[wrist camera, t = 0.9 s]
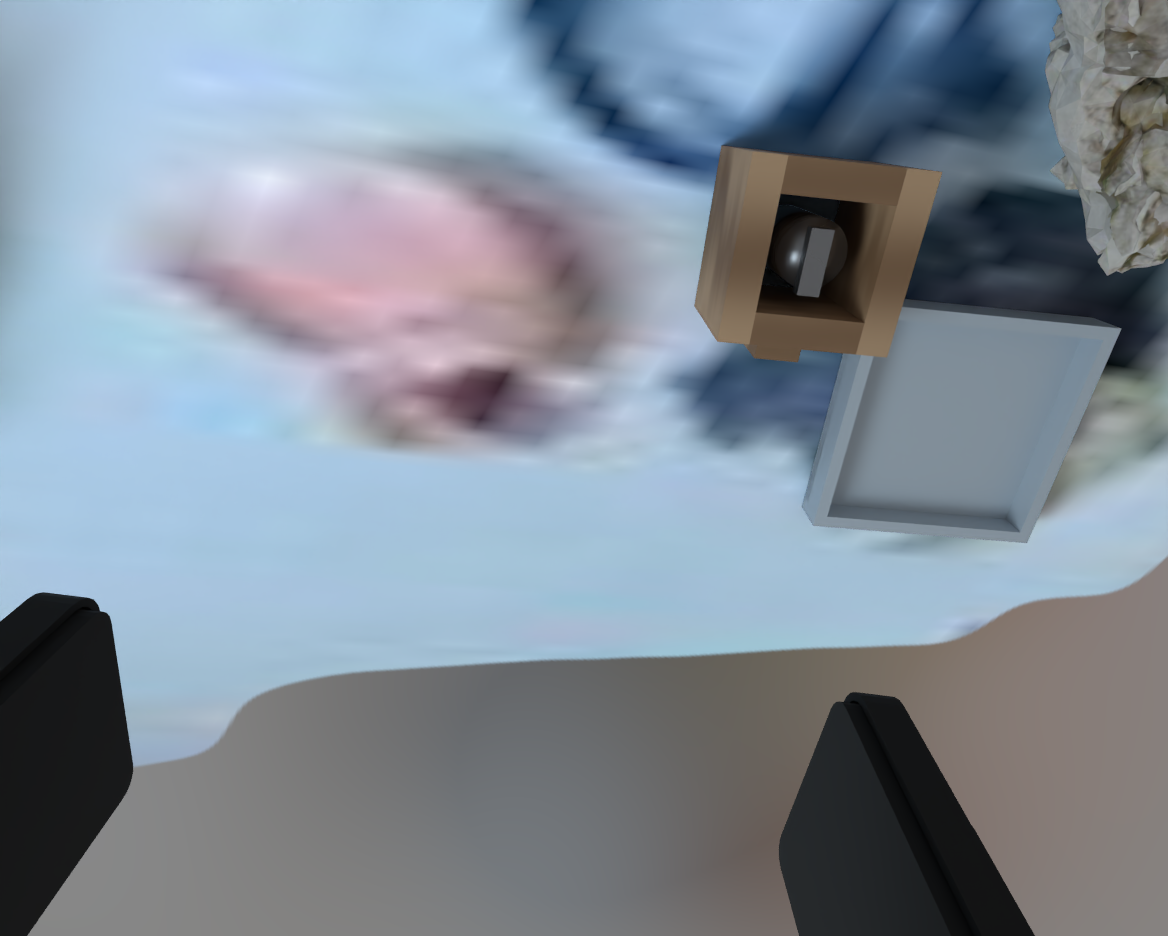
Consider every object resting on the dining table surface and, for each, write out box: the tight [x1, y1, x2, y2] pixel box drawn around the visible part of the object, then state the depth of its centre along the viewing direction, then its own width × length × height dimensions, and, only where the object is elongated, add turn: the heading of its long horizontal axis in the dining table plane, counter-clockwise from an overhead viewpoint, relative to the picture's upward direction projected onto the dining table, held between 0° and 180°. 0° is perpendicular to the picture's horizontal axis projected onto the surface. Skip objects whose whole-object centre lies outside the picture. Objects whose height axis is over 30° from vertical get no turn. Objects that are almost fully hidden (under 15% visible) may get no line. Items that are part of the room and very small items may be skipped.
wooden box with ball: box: [695, 146, 942, 362], centre depth 30 cm, size 8×7×6 cm
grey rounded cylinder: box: [766, 205, 848, 297], centre depth 30 cm, size 3×3×5 cm
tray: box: [802, 299, 1121, 543], centre depth 36 cm, size 12×12×2 cm
